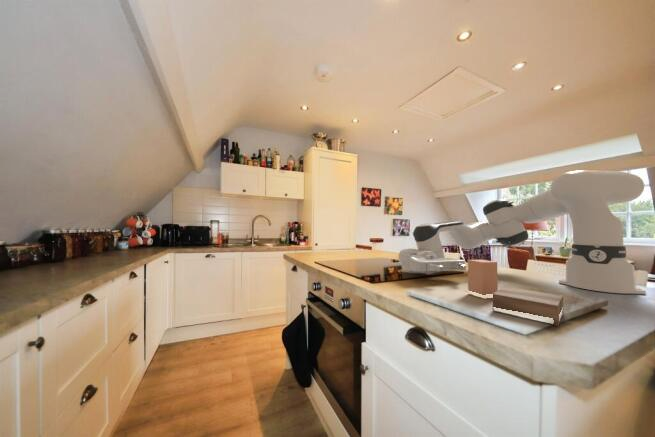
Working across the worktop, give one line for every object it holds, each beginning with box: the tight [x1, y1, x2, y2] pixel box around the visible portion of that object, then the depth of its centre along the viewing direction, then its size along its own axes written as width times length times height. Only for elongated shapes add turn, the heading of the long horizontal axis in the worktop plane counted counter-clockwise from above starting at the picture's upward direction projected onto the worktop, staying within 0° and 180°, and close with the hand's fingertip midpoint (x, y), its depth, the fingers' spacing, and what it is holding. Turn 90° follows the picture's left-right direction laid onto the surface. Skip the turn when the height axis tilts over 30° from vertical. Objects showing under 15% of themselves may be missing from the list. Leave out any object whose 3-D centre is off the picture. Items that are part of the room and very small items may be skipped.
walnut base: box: [492, 286, 564, 327], centre depth 55 cm, size 11×11×4 cm
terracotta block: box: [467, 259, 499, 295], centre depth 68 cm, size 5×5×10 cm
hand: (452, 268), depth 79 cm, fingers open, 8 cm apart
